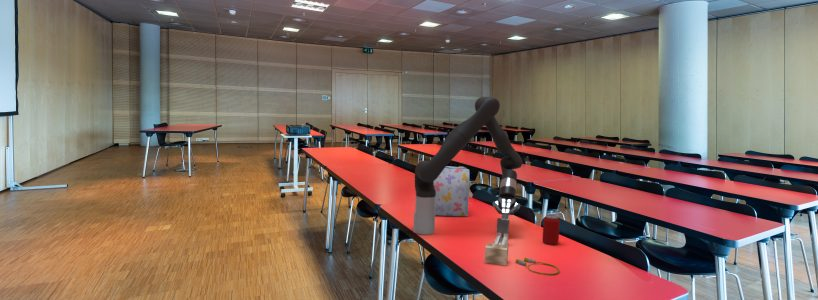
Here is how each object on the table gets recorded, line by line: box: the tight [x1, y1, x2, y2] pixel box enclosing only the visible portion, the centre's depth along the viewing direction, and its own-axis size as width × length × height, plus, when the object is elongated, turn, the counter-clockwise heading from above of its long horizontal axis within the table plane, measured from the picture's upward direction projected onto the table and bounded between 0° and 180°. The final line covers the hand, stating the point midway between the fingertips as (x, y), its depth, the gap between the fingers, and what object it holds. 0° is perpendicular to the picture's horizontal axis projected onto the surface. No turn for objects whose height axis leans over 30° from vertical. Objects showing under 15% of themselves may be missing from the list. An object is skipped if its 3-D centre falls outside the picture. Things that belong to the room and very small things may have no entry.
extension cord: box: [515, 257, 560, 276], centre depth 160 cm, size 12×16×2 cm
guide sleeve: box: [493, 233, 509, 246], centre depth 181 cm, size 5×16×4 cm, turn 163°
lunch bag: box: [434, 165, 470, 217], centre depth 238 cm, size 22×17×26 cm
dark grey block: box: [496, 217, 510, 244], centre depth 181 cm, size 5×18×10 cm, turn 163°
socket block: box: [484, 242, 509, 266], centre depth 165 cm, size 8×6×6 cm
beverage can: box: [542, 214, 561, 246], centre depth 190 cm, size 7×7×12 cm
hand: (504, 221), depth 193 cm, fingers closed
